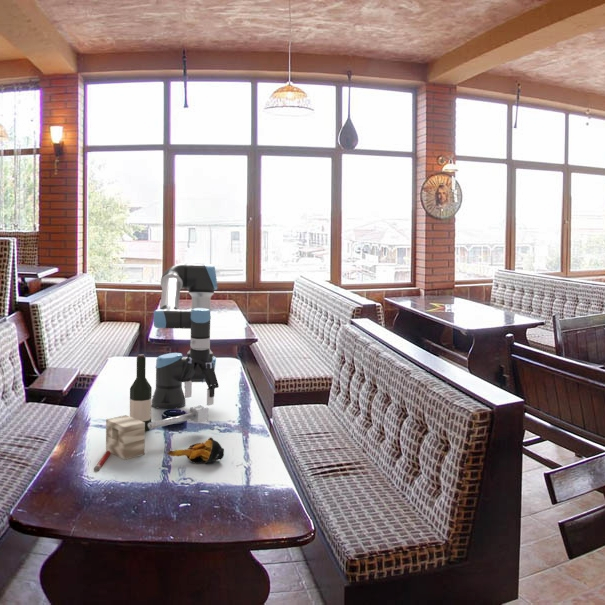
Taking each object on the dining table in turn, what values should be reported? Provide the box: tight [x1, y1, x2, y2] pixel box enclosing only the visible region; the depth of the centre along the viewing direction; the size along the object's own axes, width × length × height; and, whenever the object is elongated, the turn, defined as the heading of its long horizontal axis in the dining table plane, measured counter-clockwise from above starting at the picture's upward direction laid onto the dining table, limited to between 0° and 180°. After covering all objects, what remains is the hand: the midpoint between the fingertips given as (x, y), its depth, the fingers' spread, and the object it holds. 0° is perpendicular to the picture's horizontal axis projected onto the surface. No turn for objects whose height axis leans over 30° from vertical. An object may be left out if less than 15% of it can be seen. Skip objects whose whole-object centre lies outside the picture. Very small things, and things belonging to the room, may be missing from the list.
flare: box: [93, 451, 112, 472], centre depth 211 cm, size 2×15×2 cm, turn 3°
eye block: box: [105, 414, 146, 461], centre depth 220 cm, size 12×9×12 cm
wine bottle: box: [129, 353, 153, 432], centre depth 246 cm, size 8×8×30 cm
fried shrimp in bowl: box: [166, 437, 225, 464], centre depth 213 cm, size 9×11×18 cm
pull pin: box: [148, 405, 209, 430], centre depth 237 cm, size 5×26×5 cm, turn 138°
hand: (198, 401), depth 244 cm, fingers open, 13 cm apart
